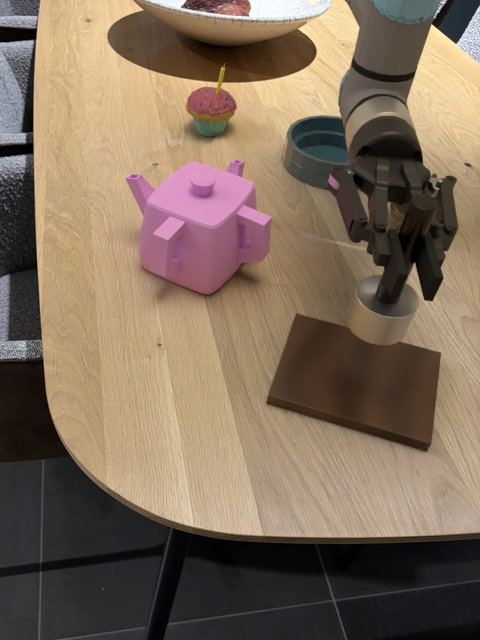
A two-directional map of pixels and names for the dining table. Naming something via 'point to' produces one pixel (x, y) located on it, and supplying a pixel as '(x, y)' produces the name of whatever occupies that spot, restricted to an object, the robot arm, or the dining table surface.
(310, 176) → the bowl
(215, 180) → the teakettle
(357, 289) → the handled rubber stamp
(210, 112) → the cupcake
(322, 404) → the board
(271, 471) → the dining table surface
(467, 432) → the dining table surface
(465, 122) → the dining table surface
